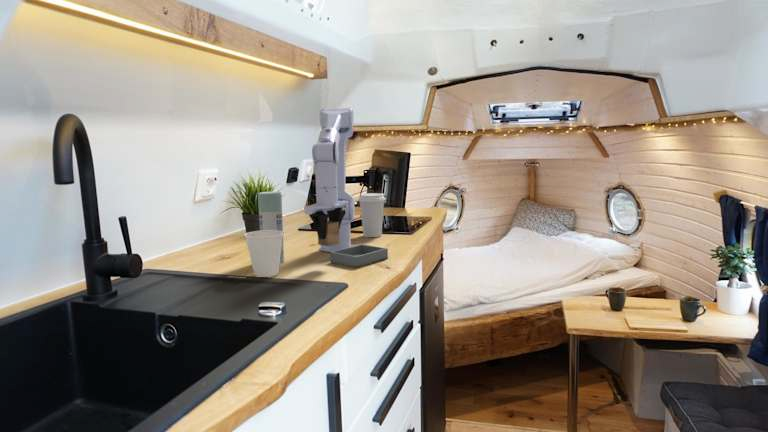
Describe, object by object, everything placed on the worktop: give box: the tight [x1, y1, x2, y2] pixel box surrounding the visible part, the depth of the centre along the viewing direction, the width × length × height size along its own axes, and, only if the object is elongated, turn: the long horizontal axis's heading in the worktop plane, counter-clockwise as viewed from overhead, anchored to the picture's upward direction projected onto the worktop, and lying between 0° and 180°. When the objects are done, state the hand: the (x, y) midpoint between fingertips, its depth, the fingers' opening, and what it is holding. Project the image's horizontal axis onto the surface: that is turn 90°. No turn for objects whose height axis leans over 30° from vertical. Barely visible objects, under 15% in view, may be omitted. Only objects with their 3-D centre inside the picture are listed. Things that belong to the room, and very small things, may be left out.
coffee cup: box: [358, 192, 386, 238], centre depth 182 cm, size 10×10×15 cm
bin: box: [329, 244, 389, 269], centre depth 146 cm, size 10×13×3 cm
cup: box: [244, 230, 285, 278], centre depth 132 cm, size 10×10×11 cm
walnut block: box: [317, 221, 339, 246], centre depth 138 cm, size 4×4×6 cm
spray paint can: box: [257, 191, 285, 265], centre depth 145 cm, size 6×6×20 cm
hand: (328, 237), depth 139 cm, fingers closed on walnut block, 4 cm apart
